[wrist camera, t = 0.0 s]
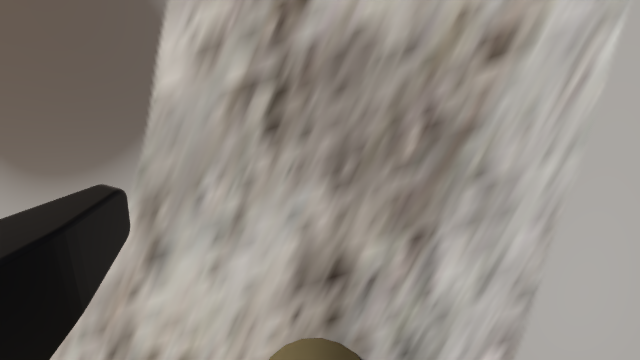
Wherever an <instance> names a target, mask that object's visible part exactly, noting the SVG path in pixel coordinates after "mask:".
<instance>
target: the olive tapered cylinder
mask: <svg viewBox="0 0 640 360" xmlns="http://www.w3.org/2000/svg"><path fill="white" fill-rule="evenodd" d="M269 360H361V359H360V358H359V357H358V356H357V355H356V354H355V353H354V352H352V351H351V350H349V349H348V348H346V347H344V346H343V345H341V344H340V343H337V342H333V341H329V340H326V339H322V338H313V339H301V340H298V341H296V342H293V343H290V344H288V345H285V346H284V347H283V348H281V349H280V350H279V351H278V352H277V353H275V354H274V355H273V356H272V357H271V358H270V359H269Z"/></svg>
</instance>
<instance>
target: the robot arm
mask: <svg viewBox="0 0 640 360" xmlns="http://www.w3.org/2000/svg"><path fill="white" fill-rule="evenodd" d="M129 232H130V219H129V210H128V202H127V195H126V193H125V192H124V191H123V190H122V189H119V188H115V187H112V186H108V185H102V184H101V185H96V186H93V187H90V188H88V189H85V190H82V191H79V192H76V193H73V194H70V195H68V196H65V197H62V198H59V199H56V200H54V201H50V202H48V203H45V204H42V205H39V206H36V207H34V208H31V209H28V210H25V211H22V212H19V213H17V214H14V215H11V216H8V217H5V218H3V219H0V360H50V358H51V357H52V355H53V354H54V353H55V351H56V350H57V349H58V347H59V346H60V345H61V343H62V342H63V340H64V339H65V338H66V336H67V335H68V334H69V332H70V331H71V330H72V328H73V327H74V326H75V324H76V323H77V321H78V320H79V318H80V317H81V316H82V314H83V313H84V311H85V309H86V308H87V306H88V305H89V303H90V301H91V300H92V298H93V296H94V295H95V293H96V291H97V290H98V288H99V286H100V284H101V283H102V281H103V279H104V278H105V276H106V274H107V272H108V271H109V269H110V267H111V266H112V264H113V262H114V260H115V259H116V257H117V255H118V254H119V252H120V250H121V248H122V247H123V245H124V243H125V242H126V240H127V238H128V235H129Z"/></svg>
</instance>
